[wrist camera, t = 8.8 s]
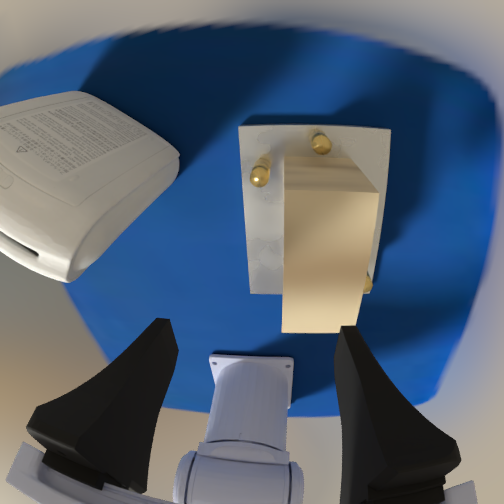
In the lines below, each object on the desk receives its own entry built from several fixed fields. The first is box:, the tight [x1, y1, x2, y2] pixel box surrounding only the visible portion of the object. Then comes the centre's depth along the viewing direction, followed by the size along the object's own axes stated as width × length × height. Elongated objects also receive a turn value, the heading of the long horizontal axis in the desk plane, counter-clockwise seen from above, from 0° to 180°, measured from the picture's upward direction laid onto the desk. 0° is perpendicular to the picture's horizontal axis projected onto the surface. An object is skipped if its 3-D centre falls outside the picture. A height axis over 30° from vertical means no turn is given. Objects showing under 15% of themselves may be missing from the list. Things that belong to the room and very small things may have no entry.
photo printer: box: [0, 91, 180, 283], centre depth 13 cm, size 10×4×12 cm, turn 55°
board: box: [282, 157, 380, 333], centre depth 16 cm, size 8×4×6 cm, turn 3°
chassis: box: [239, 123, 391, 294], centre depth 18 cm, size 12×9×3 cm
